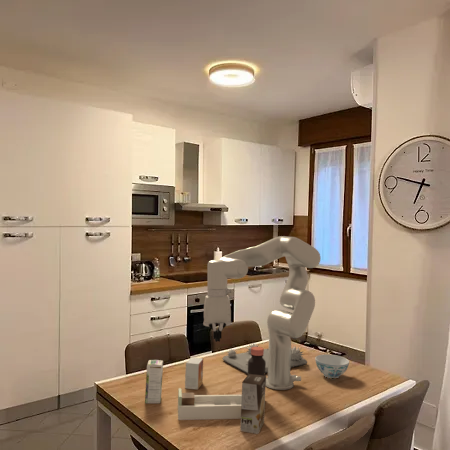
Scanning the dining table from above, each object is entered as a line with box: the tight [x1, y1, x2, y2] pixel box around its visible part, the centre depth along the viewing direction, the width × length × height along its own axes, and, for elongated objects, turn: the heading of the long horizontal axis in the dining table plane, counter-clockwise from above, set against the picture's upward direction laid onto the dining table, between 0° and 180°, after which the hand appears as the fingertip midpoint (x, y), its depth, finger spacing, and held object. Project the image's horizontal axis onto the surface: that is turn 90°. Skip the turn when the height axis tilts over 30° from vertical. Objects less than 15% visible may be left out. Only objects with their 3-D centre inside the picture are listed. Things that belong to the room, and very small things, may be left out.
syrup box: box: [144, 359, 164, 404], centre depth 160 cm, size 6×6×14 cm
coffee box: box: [239, 374, 267, 435], centre depth 142 cm, size 9×6×16 cm
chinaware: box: [314, 354, 350, 379], centre depth 193 cm, size 15×15×8 cm
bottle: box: [247, 346, 266, 376], centre depth 164 cm, size 7×7×20 cm
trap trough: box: [177, 387, 242, 421], centre depth 152 cm, size 28×10×8 cm, turn 97°
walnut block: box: [182, 392, 195, 406], centre depth 150 cm, size 4×4×4 cm
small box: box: [184, 357, 204, 391], centre depth 176 cm, size 8×6×10 cm
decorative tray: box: [222, 343, 308, 375], centre depth 208 cm, size 35×26×10 cm
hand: (217, 340), depth 162 cm, fingers closed
